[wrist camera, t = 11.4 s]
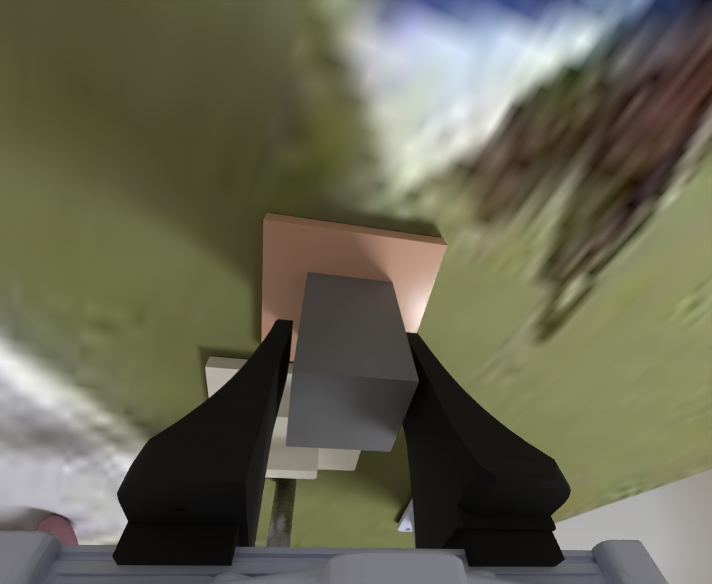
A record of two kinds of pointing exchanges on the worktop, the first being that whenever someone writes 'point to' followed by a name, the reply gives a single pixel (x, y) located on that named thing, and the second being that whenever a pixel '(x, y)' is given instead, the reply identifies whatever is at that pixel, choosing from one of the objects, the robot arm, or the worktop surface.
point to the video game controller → (59, 529)
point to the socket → (283, 453)
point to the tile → (343, 265)
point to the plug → (350, 366)
